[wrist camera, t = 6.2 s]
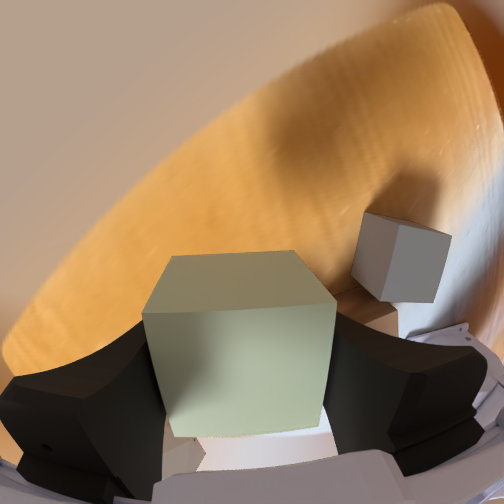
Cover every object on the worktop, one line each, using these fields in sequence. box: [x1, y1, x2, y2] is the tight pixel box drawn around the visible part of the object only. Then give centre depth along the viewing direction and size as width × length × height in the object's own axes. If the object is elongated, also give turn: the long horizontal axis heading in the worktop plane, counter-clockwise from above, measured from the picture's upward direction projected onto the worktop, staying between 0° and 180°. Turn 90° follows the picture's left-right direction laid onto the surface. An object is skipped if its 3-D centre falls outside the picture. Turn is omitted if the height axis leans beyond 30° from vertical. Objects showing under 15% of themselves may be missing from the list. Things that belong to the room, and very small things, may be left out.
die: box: [162, 415, 206, 480], centre depth 21 cm, size 8×9×10 cm
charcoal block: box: [350, 212, 452, 303], centre depth 19 cm, size 5×5×5 cm
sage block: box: [142, 250, 337, 437], centre depth 10 cm, size 5×5×5 cm
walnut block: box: [333, 286, 398, 337], centre depth 21 cm, size 5×5×5 cm
